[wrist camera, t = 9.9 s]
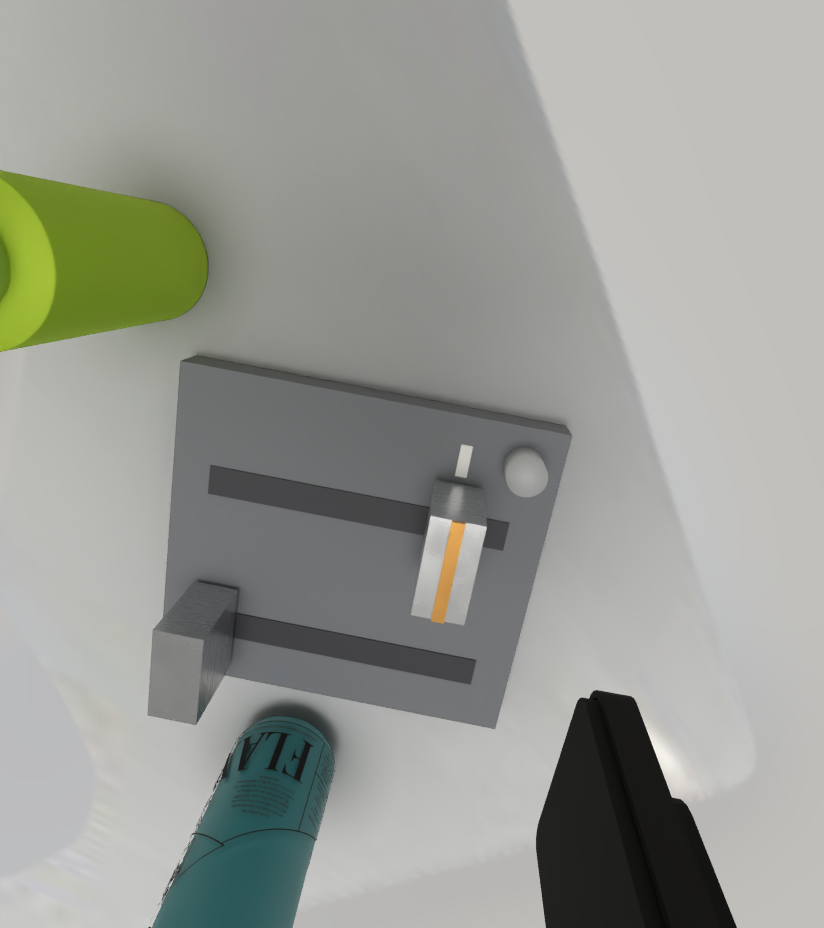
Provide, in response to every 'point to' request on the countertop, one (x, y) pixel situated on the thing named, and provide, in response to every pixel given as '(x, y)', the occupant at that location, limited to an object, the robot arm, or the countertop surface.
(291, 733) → the beverage bottle
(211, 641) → the fader tab
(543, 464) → the console
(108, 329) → the soap dispenser
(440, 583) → the fader tab
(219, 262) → the countertop surface
